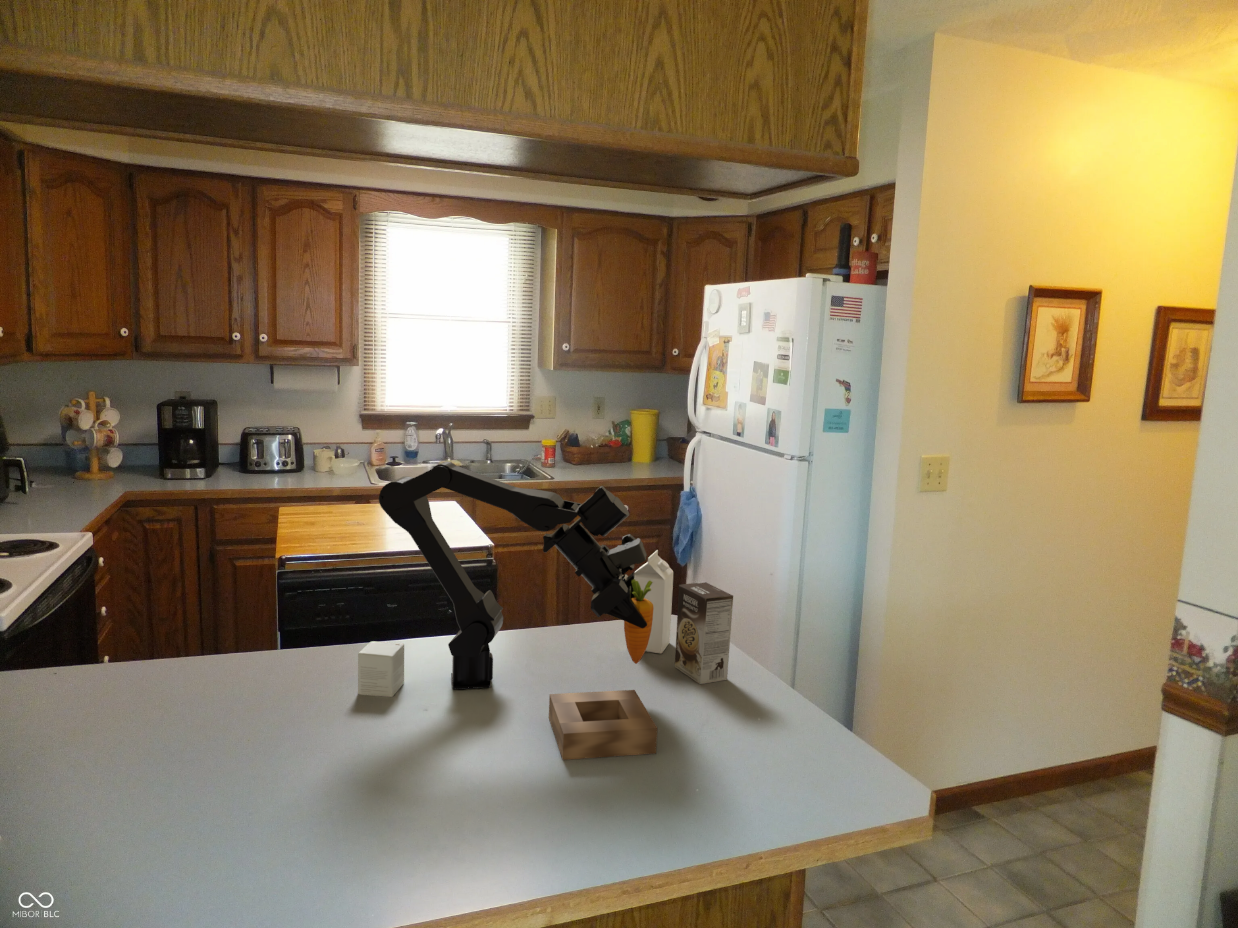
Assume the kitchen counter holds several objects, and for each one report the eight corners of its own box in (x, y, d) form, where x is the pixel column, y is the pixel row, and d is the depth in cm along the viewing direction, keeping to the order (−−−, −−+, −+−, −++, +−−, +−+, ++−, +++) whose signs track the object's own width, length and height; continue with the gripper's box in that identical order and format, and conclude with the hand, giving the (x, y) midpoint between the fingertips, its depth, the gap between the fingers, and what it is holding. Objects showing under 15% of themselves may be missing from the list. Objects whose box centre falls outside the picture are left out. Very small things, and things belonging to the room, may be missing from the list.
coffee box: (672, 667, 161) (677, 584, 159) (701, 662, 164) (706, 580, 162) (699, 685, 153) (704, 597, 151) (729, 679, 156) (734, 594, 154)
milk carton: (626, 649, 169) (630, 555, 167) (636, 637, 176) (640, 548, 173) (661, 654, 167) (666, 560, 164) (669, 642, 174) (674, 551, 171)
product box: (371, 680, 149) (371, 640, 148) (405, 683, 148) (405, 642, 147) (357, 694, 143) (357, 652, 142) (392, 697, 142) (392, 655, 141)
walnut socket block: (562, 759, 124) (563, 733, 123) (548, 717, 137) (549, 693, 137) (656, 753, 127) (657, 727, 126) (633, 712, 140) (634, 689, 140)
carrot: (649, 658, 149) (654, 575, 147) (651, 669, 144) (656, 583, 142) (620, 657, 149) (625, 574, 147) (621, 668, 144) (626, 582, 142)
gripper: (614, 535, 134) (680, 608, 135) (624, 512, 153) (682, 576, 153) (563, 580, 136) (628, 652, 137) (579, 552, 155) (636, 615, 155)
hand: (646, 621), depth 145 cm, fingers closed on carrot, 5 cm apart
